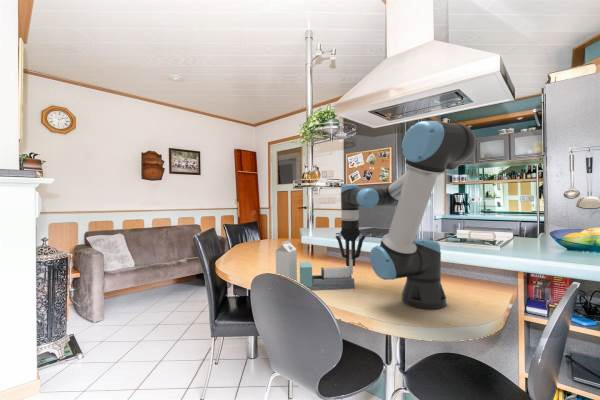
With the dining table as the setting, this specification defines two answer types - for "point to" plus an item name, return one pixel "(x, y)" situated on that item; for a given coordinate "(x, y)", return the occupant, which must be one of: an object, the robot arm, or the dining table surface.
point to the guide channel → (331, 283)
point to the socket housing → (306, 274)
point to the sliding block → (335, 273)
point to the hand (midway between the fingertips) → (350, 273)
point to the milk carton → (286, 260)
